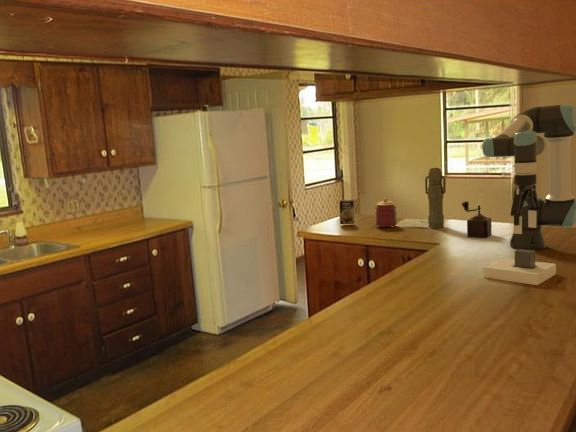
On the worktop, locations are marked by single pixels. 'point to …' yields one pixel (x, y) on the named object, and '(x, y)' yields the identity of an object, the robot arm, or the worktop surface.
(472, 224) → the manual coffee grinder
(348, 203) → the coffee box
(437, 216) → the thermos
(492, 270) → the socket plate
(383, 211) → the canister
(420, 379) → the worktop surface
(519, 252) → the plug
